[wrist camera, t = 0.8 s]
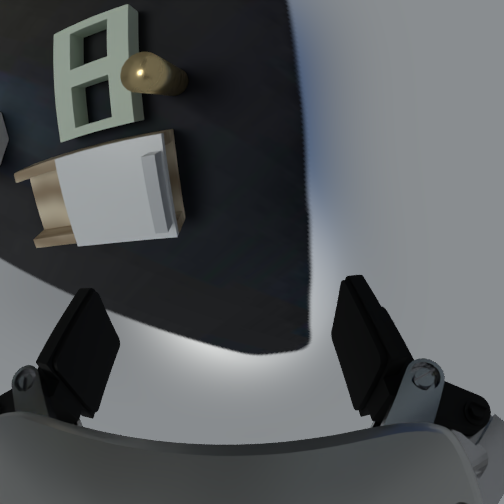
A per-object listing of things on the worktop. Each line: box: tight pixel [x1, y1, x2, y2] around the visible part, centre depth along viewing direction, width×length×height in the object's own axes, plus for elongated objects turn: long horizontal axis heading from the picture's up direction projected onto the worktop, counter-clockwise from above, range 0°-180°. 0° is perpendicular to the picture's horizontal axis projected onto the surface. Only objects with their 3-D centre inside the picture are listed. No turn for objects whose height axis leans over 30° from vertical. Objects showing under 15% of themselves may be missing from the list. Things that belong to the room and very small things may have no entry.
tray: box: [14, 129, 186, 248], centre depth 26 cm, size 10×20×4 cm, turn 93°
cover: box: [54, 133, 179, 246], centre depth 23 cm, size 10×12×3 cm
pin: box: [120, 52, 189, 96], centre depth 18 cm, size 3×3×10 cm
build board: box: [54, 4, 144, 142], centre depth 20 cm, size 13×9×3 cm
